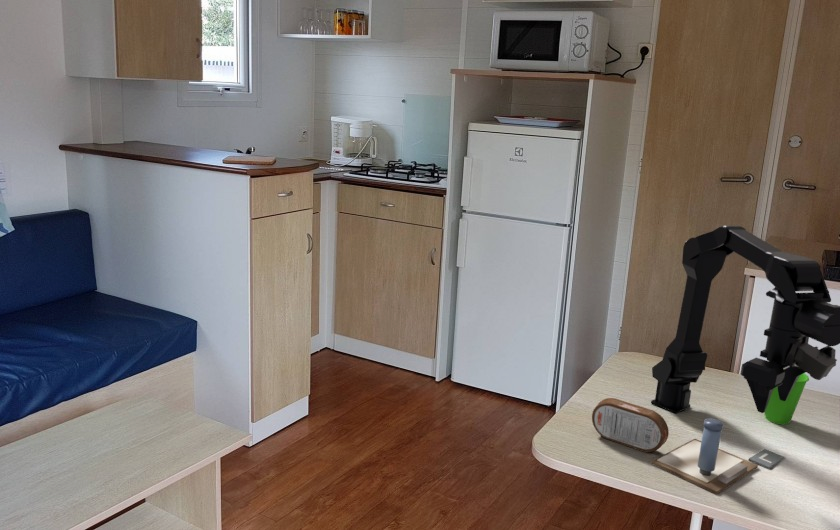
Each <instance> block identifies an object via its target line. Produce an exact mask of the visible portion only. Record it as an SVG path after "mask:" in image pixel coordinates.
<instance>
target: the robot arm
mask: <svg viewBox="0 0 840 530" xmlns="http://www.w3.org/2000/svg"><path fill="white" fill-rule="evenodd" d="M682 247H683V249H682V260H681V263H682V266H683V268H684V271H685V274H686V282H685V287H684V291H683V298H682V302H681V303H682V304H681V308H680V314H679V319H678V323H677V329H676V333H675V338H674V339H673V340H672V341H671V342H670V343H669V344H668V346H666V348H665V351H664V354H663V357H662V359H661V361H659V362H658V363H656V364H655V365H654V366H652V368H651V372H652V378H654V379H655V380H657V384H656V391H655V398H654V399H652V400H651V401H650V403H651V404H652V405H655V406H657V407H660V408H663V409H664V410H668V411H670V412H672V413H674V414H677V413H680V412H681V411H683V410H686V409H689V408H690V407H691V404H690V400H691V395H692V390H691V389H690V387H691V383H694V384H695V383H697V382H698V380H699V378H700V376H701V375H702V373H703V371H706V362H707V359H708V353H707V352H706V351H705V352H704V350H703V348H702V346H701V344H700V343H701V337H702V336H701V335H702V331H703V327H704V321H705V317H706V310H707V307H708V301H709V298H710V291H711V287H712V282H713V280H714V279H715V277H716V276H718V274H719V273H720V272H721V271H722V269H723V267H724V265H725V262H726V259H727V257H730V255H732V254H734V253H735V254H737V255H739V256H740V257H742V258H743V259H745V260H747V261H748V262H749V263H751V264H753V265H754V266H756V267H758V268H759V269H761V270H762V271H763V272H764V274H765V278H766V279H767V281H768V282H769V283H771V284H772V285H773V286H774V287H773V288H772V289H770V290H768V291H767V292H766V293H765V296H767V297H769V298H771V299H773V304H772V305H773V306H772V311H771V315H770V316H771V317H770V321H769V327H768V328H766V329H764V331H763V336H766V337H767V338H766V342H765V343H766V344H765V348H764V349H762V350H760V353H759V357H761V358H759V357H754V358H753V359H749V360H748V361H745V362H744V363H742V364H741V368H740V375H741V376H742V377H743V378H744V380H746V382H747V385H748V387H749V390H750V392H751V396H752V398H753V401H754V404H755V407H756V411H757V412H759V413H760V414H765V410H766V408H767V405H768V402H769V399H770V397H771V394H772V391H773V389H774V388H776V387H778V394H779V399H780V400H782V401H786V400H787V398H788V396H789V394H790V392H791V391H792V389H793V387H794V385H795V383H796V381H797V380H798V378H799V376H800V375H801V374H803V373H805V374H806V373H807V374H808V375H809V376H810V377H811V378H812V379H814V380H817V381H821V380H822V379H823V378H826V377H827V376H829V373H830V372H831V371H832V369H833V368H834V367H836V366H837V361H838V359H837V358H836V352H837V351H836V349H835V348H834V347H835V346H838V345H839V344H840V305H838V304H833V303H832V304H831V302H832V297H831V295H830V290H829V288H828V286H827V284H826V281H825V278H824V275H823V272H822V270H821V268H822V266H821V264H820V263H819V262H818V261H817V260H815V259H812V258H809V257H806V256H803V255H798V254H793V253H788V252H786V251H783V250H781V249H779V248H777V247H775V246H773V245H771V244H770V243H768V242H767V241H765V240H763V239H761V238H760V237H758V236H756V235H754V234H753V233H751V232H749V231H747V229H746V228H745V227H743V226H741V225H721V226H720V227H719V226H718V227H717V228H716V229H714V230H713V231H709V232H705V233H703V234H700V235H697V236H694V237H690V238H689V239H688V240H686V241H685V242H684V244H683V246H682ZM810 339H812V340H814V341H817V342H819V343H821V344H823V345H826V346H824V347H821V348H820V349H819V346H817V345H816V346H812V345H811V344H809V340H810ZM762 358H764V359H762ZM765 359H766V360H765Z"/></svg>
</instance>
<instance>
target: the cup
mask: <svg viewBox="0 0 840 530" xmlns="http://www.w3.org/2000/svg"><path fill="white" fill-rule="evenodd" d="M809 381H810V378H809V375H807V374H806V372H805V373H803V374H801V375H800V376H799V378H798V380H797V381H796V383H795V385H794V387H793V389H792V391H791V392H790V394H789V396H788V398H787V400H786V401H782V400H780V399H779V394H778V387H776V388H774V389H773V391H772V394H771V397H770V399H769V402H768V405H767V408H766V410H765V412H764V417H765V419H766V420H767V421H769V422H771V423H773V424H777V425H783V424H785V425H789V424H790V423H791V421H792V419H793V417H794V414H795V412H796V408H797V407H798V404H799V402H800V398H801V396H802V394H803V391H804V390H805V386H806V384H807V382H809Z"/></svg>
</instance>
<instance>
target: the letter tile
mask: <svg viewBox="0 0 840 530" xmlns="http://www.w3.org/2000/svg"><path fill="white" fill-rule="evenodd" d="M784 459H786V456H784V455H782V454H779V453H777V452H774V451H772V450H769V449H766V448H763V449H762V450H760V451H759V452H757V453H756V454H753V455H752V456H751V457H749V458H748V461H749V462H752V463H754V464H756V465H758V466H761V467H763V468H765V469H768V470H770V469H771V468H772V467H774V466H775V465H777V464H779V463H781V462H782V461H784Z"/></svg>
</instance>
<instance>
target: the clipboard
mask: <svg viewBox="0 0 840 530" xmlns="http://www.w3.org/2000/svg"><path fill="white" fill-rule="evenodd" d="M701 441H702V440H700V439H698V438H693V439H691V440H689V441H688V442H686V443H684V444H681V445H680V446H678V447H676V448H674V449H672V450H670V451H668V452H667V453H664V454H663V455H661V456H658V457H657V458H655V459H653V460H652V461H651V465H653V466H655V467H657V468H658V469H659V468H660V469H661V470H664V471H666V472H667V473H670V474H672V475H674V476H676V477H678V478H680V479H682V480H685V481H687V482H689V483H691V484H693V485H695V486H697V487H700V488H702V489H704V490H707V491H708V492H710V493H712V494H714V495H718V494H719V493H721V492H723V491H724V490H726V489H728V488H729V487H731V486H733V485H734V484H736V483H737V482H738V481H740V480H741V479H743V478H744V477H746V476H748V475H749V474H751V473H752V472H754V471H755V470H757V469H759V465H758V464H756V463H753V462H751V461H749V460H746V459H744V458H742V457H739V456H737V455H735V454H733V453H730V452H728V451H725V450H723V449H721V448H720V447H719V448H718V454H717V460H716V466H715V470H714V471H711V475H710V476H705V475H702V474H700V472H699V471H700V468H699V467H698V459H699V453H700V447H701Z"/></svg>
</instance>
